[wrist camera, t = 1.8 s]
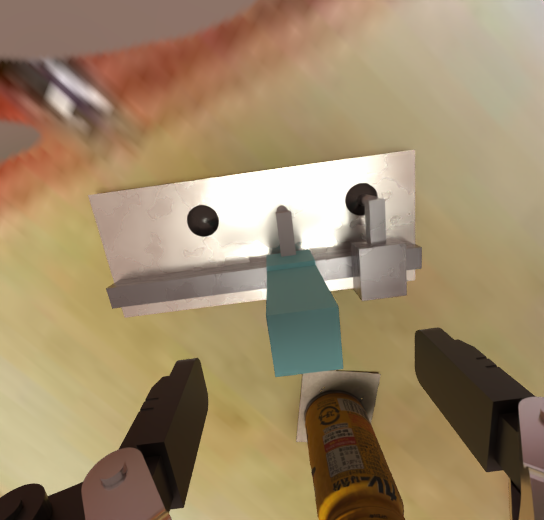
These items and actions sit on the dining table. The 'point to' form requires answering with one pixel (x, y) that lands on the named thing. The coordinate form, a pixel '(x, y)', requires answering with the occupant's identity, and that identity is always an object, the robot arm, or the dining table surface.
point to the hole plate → (260, 233)
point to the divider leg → (300, 309)
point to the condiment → (346, 447)
